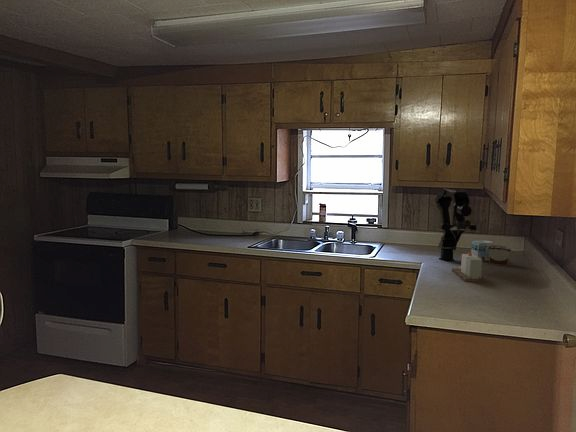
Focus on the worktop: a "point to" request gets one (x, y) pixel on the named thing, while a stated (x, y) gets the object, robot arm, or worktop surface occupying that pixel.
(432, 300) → the worktop surface
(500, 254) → the food container
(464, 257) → the block
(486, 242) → the light bulb box
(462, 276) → the rail board
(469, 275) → the block
